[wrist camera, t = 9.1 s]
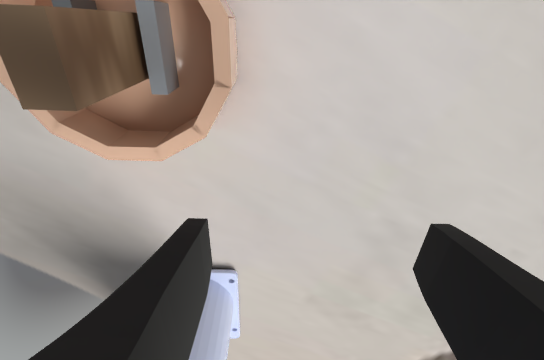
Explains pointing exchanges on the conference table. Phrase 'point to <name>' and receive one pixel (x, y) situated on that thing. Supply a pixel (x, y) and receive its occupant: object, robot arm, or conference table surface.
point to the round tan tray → (155, 81)
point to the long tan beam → (70, 54)
